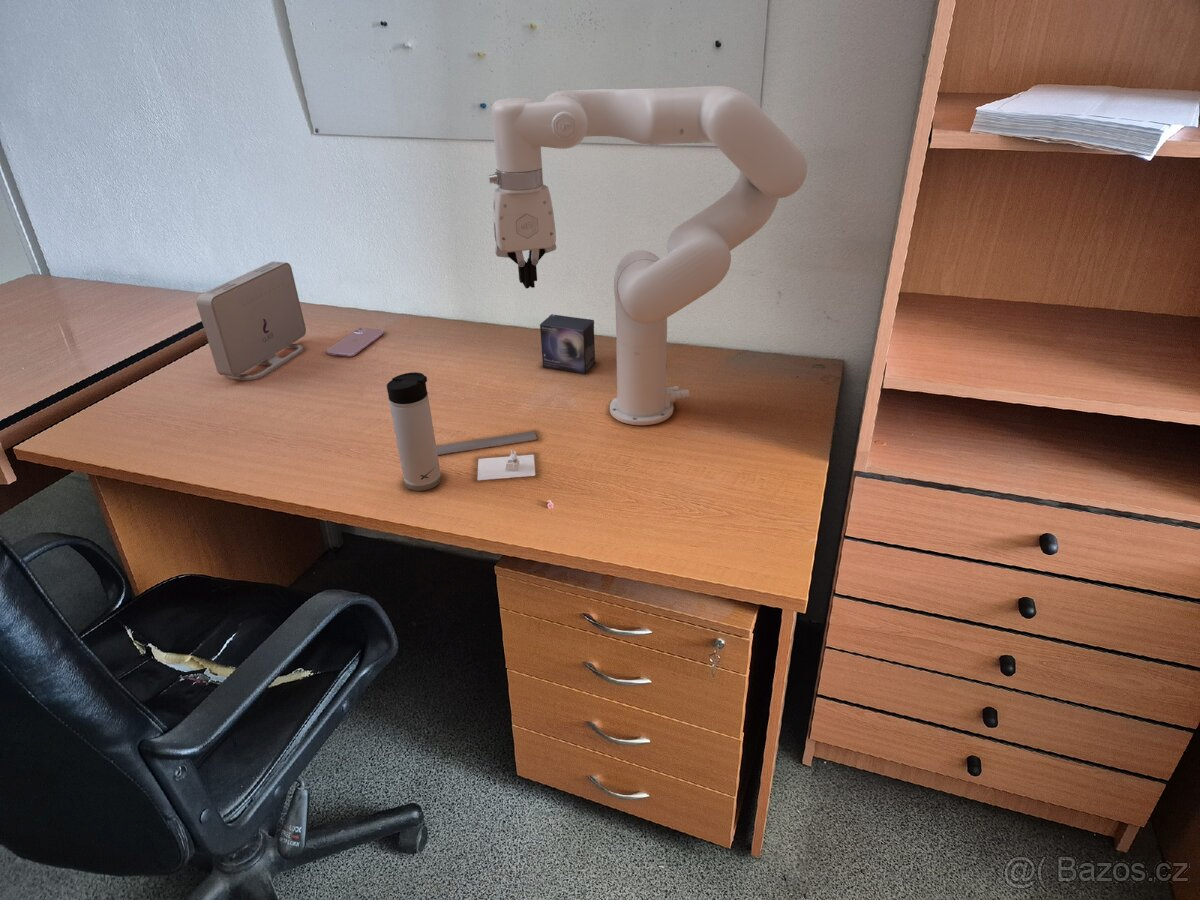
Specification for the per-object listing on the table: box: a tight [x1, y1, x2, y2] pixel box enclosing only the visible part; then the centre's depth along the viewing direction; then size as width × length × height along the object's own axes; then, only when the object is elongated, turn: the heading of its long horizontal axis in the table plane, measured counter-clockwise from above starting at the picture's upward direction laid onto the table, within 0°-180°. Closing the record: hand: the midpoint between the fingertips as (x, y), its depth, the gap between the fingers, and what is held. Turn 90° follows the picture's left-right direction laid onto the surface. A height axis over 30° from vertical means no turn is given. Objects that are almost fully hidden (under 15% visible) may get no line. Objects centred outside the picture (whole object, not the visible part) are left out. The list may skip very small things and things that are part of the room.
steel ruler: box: [436, 430, 538, 456], centre depth 145 cm, size 20×3×1 cm, turn 105°
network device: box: [196, 261, 307, 381], centre depth 175 cm, size 26×9×20 cm, turn 161°
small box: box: [539, 313, 596, 375], centre depth 171 cm, size 11×6×10 cm, turn 68°
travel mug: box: [386, 371, 442, 492], centre depth 130 cm, size 6×7×20 cm
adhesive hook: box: [504, 449, 521, 471], centre depth 137 cm, size 3×3×3 cm
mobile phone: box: [325, 327, 385, 358], centre depth 187 cm, size 8×1×15 cm
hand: (528, 285), depth 140 cm, fingers closed
